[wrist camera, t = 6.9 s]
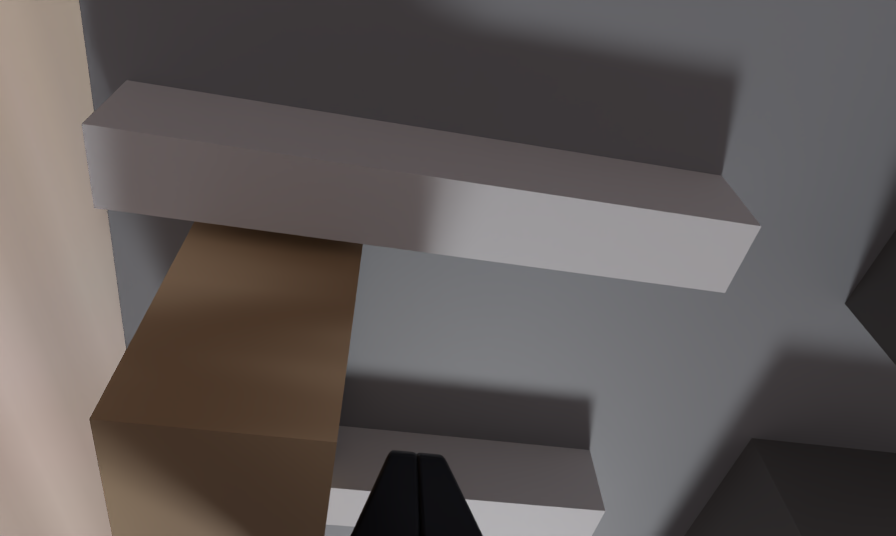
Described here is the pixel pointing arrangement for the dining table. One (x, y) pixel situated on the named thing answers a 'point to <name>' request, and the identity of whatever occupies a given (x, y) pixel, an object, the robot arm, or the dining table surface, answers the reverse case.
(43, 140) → the dining table surface
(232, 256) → the upright wooden block
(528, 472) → the control panel
